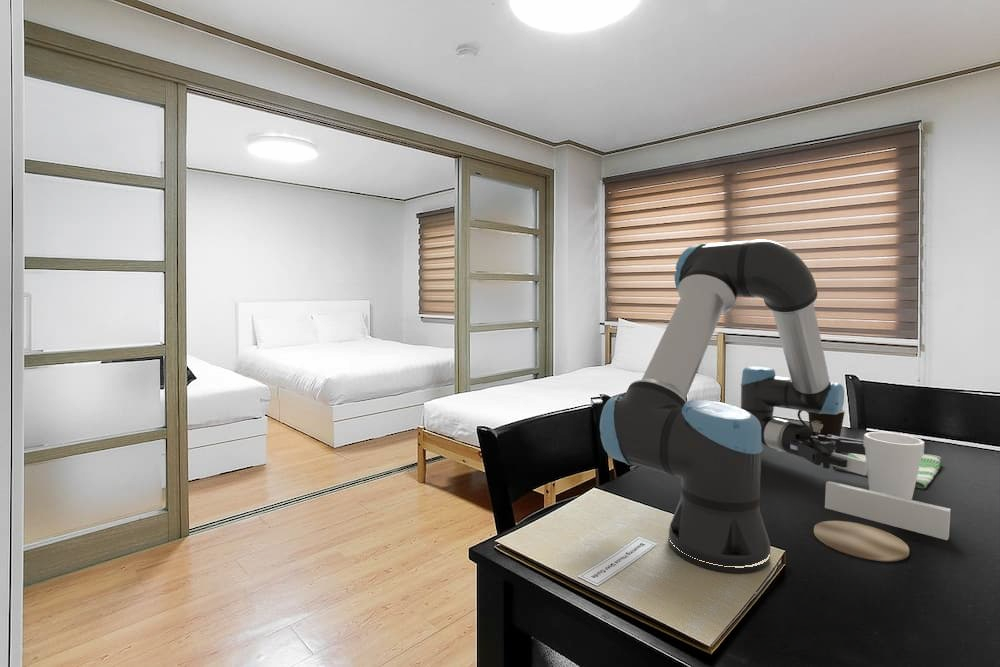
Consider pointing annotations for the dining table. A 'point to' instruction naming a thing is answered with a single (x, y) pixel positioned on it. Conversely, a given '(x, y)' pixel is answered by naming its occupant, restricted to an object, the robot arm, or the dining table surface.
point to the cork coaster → (861, 541)
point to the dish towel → (926, 468)
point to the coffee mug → (825, 423)
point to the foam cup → (893, 462)
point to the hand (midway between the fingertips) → (887, 464)
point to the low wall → (889, 509)
